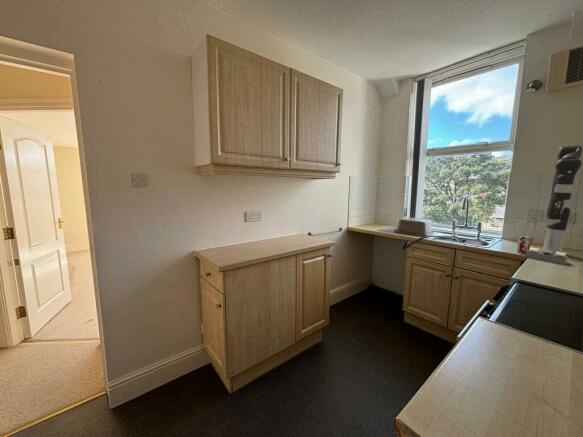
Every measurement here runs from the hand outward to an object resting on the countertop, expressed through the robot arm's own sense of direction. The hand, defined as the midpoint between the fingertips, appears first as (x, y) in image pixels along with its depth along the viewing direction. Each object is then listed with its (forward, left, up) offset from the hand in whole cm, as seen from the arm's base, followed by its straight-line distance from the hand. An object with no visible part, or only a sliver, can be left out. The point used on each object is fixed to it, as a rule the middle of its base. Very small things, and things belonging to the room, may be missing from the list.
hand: (557, 219), depth 154 cm
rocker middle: (+2, -1, -21) cm, 22 cm away
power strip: (+2, -1, -27) cm, 27 cm away
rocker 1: (+2, -7, -21) cm, 23 cm away
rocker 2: (+2, +5, -21) cm, 22 cm away
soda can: (-7, -14, -27) cm, 31 cm away
